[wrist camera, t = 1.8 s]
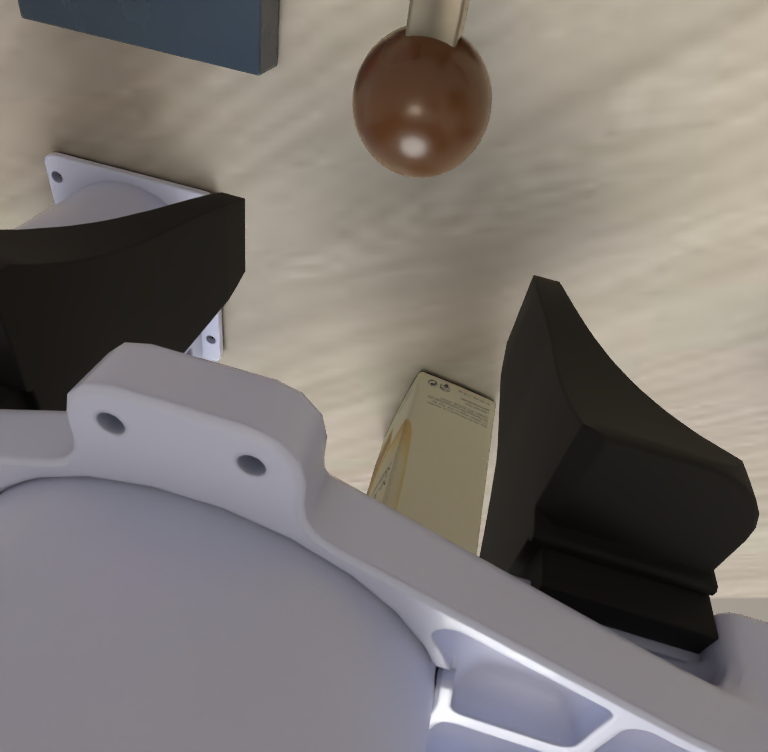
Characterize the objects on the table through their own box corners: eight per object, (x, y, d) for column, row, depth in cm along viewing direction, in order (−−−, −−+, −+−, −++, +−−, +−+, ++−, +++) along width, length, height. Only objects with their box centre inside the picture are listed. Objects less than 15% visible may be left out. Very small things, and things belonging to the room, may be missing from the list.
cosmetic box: (420, 366, 28) (354, 588, 19) (499, 400, 28) (472, 636, 19) (379, 443, 32) (310, 655, 23) (449, 472, 32) (407, 694, 23)
